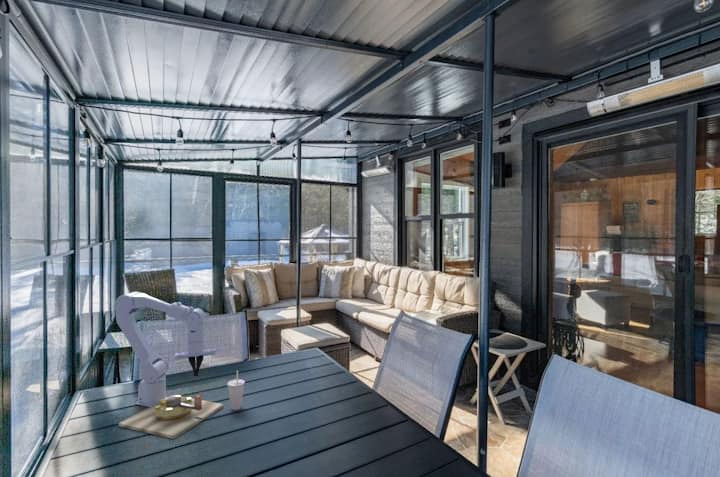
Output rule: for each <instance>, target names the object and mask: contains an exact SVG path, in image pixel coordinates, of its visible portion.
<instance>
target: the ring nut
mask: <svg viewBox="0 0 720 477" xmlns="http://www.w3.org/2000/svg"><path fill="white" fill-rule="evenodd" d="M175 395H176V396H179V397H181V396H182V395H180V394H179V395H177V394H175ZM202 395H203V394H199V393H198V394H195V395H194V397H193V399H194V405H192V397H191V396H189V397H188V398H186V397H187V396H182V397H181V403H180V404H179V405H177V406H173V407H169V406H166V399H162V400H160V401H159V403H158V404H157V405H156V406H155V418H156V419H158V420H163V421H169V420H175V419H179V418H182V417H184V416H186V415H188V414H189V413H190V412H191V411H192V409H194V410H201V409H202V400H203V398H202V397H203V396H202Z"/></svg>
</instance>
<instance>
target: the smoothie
mask: <svg viewBox="0 0 720 477" xmlns="http://www.w3.org/2000/svg"><path fill="white" fill-rule="evenodd" d="M245 382H246V381H245V380H244V379H241V378H240V379H239V370H236V379H235V378H234V379H232V380H229V381H228V382H227V383H226V384H227V385H226V386H227V387H226V388H227V389H228V396H229V403H230V405H229V406H230V410H232V411H238V410H240V409H241V408H242V404H243V397H244V389H245V388H244V386H245V385H246V383H245Z"/></svg>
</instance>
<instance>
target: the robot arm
mask: <svg viewBox="0 0 720 477" xmlns="http://www.w3.org/2000/svg"><path fill="white" fill-rule="evenodd" d="M182 303H183V302H181V301H178V302H172V303H168V302H166V301H164V300H162V299H159V298H156V297H153V296H151V295H148V294H147V293H145V292H141V291H137V290H136V291H132V292H130V293H126V294H122V295H120V296H117V298H116V300H115V301H114V304H113V309H114V310H115V320H116V321H115V322H116V323H117V325H118V327H119V328H120V330H121V332H122V333H123V335H124V336H125V338H126V340H127V341H128V344H129V345H130V346H131V348H132V350H133V352H134V353H135V355H136V356H137V358H138V360H139V366H138V367H139V368H138V369H139V370H140V373H141V379H142V380H140V382H139V384H138V388H137V394H138V395H137V396H138V397H137V402H136V405H137V406H142V407H147V408H149V407H151V406H153V405H155V404H157V403H159V401H160V400H162V399H167V398H168V397H167V386H166V384H167V381H166V380H167V379H166V373H167V372H168V370H169V363H168V362H167V361H166V360H165V359H163V358H162V356H161V355H160V354H158V353H156V352H155V351H154V349H153V348H152V346H151V345H150V343H149V341H148V340H147V338H146V336H145V335H144V332H143V331H142V329H141V328H140V326H139V325H138V324H139V323H137V321H136V320H135V316H136V314H137V312H138V310H139V309H140V308H145V307H146V308H150V309H154V310H157V311H161V312H164V313H166V314H167V316H168V317H169V318H172V319H175V320H177V321H178V320H179V321H181V322H184V323H185V324H186V325H187V351H183V352H177V353H175V354H174V361H177V360H182V359H188V362H189V364H190V366H191V368H192V371H193V376H194V377H198V376H199V371H200V368H201V366H202V363H203V361H204V356H211V355H213V356H215V355H216V354H217V349H216V348H205V346H204V344H205V343H204V320H205V318H206V312H205V311H204V310H203V309H201V308H200V307H195V308H194V306H187V305H184V304H182Z"/></svg>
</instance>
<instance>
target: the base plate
mask: <svg viewBox="0 0 720 477" xmlns="http://www.w3.org/2000/svg"><path fill="white" fill-rule="evenodd" d="M176 395H177V394H173V395H170V396H168V397H167V399H166V406H169V407H173V406H177V405H179V404H180V403H181V397H183V396H182V395H181V397H179V396H176ZM185 397H186V398H188V397H187V396H185ZM191 398H192V397H191ZM157 404H158V403H157ZM157 404H155V405H153V406H151V407H147V408H145V409H143V410H142V411H140V412H138V413H136V414H133V415H132V416H130V417H127V418H125V419H124V420H123V421H120V422H118V427H121V428H124V429H129V430H133V431H137V432H141V433H146V434H151V435H155V436H160V437H164V438H167V439H173V440H174V439H176V438H178V437H179V436H181V435H182V434H184V433H185V432H187V431H188V430H190V429H191V428H194V427H195V426H197V424H199V423H201V422H202V421H204V420H206V419H207V418H209V417H211V415H213V414H215V413H216V412H218V411H219V410H221V409H222V408H224V404H223V403H219V402H214V401H208V400H203V399H202V409H201V410H194V409H192V411H191V412H190V413H189V414H188V415H186V416H184V417H182V418H179V419H175V420H169V421H163V420H158V419H156V418H155V406H156V405H157ZM192 405H194V397H193V398H192Z"/></svg>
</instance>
